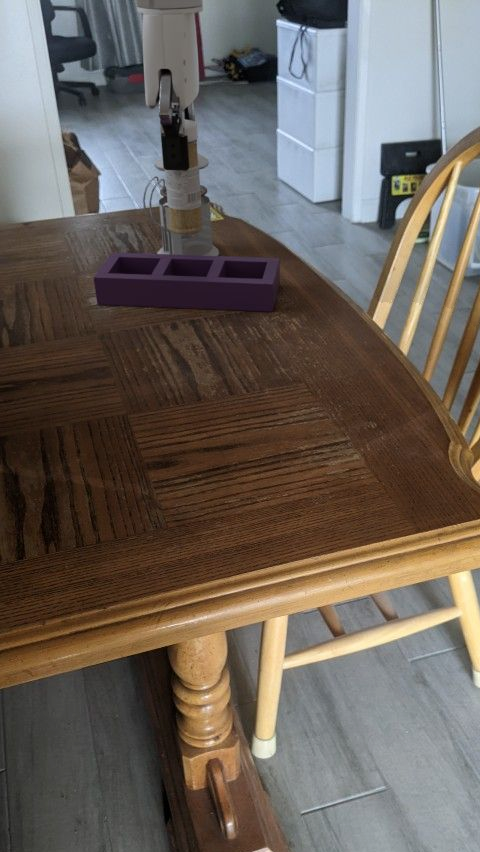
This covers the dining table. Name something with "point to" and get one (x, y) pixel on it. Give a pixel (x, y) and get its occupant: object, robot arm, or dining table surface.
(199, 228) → the sprinkles bottle
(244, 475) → the dining table surface
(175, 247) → the french press
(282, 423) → the dining table surface
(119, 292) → the compartment tray
